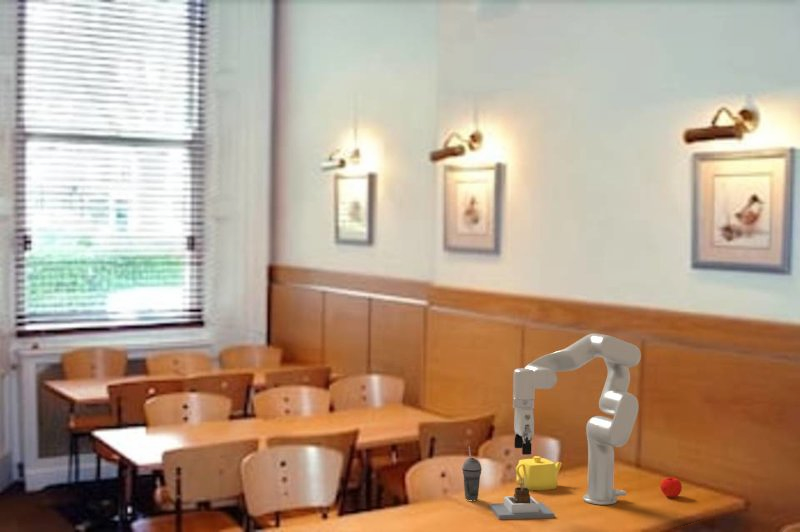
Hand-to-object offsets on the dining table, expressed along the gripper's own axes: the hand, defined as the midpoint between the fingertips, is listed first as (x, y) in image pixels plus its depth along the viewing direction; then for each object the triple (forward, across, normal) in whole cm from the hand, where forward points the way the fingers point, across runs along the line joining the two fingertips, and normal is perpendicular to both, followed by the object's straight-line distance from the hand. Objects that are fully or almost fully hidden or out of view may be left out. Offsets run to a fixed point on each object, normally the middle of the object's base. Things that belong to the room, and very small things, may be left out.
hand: (522, 451), depth 345 cm
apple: (+23, +14, -63) cm, 68 cm away
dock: (+22, 0, 0) cm, 22 cm away
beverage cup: (+22, +18, +14) cm, 32 cm away
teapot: (+23, +34, -17) cm, 44 cm away
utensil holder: (+21, 0, 0) cm, 21 cm away
